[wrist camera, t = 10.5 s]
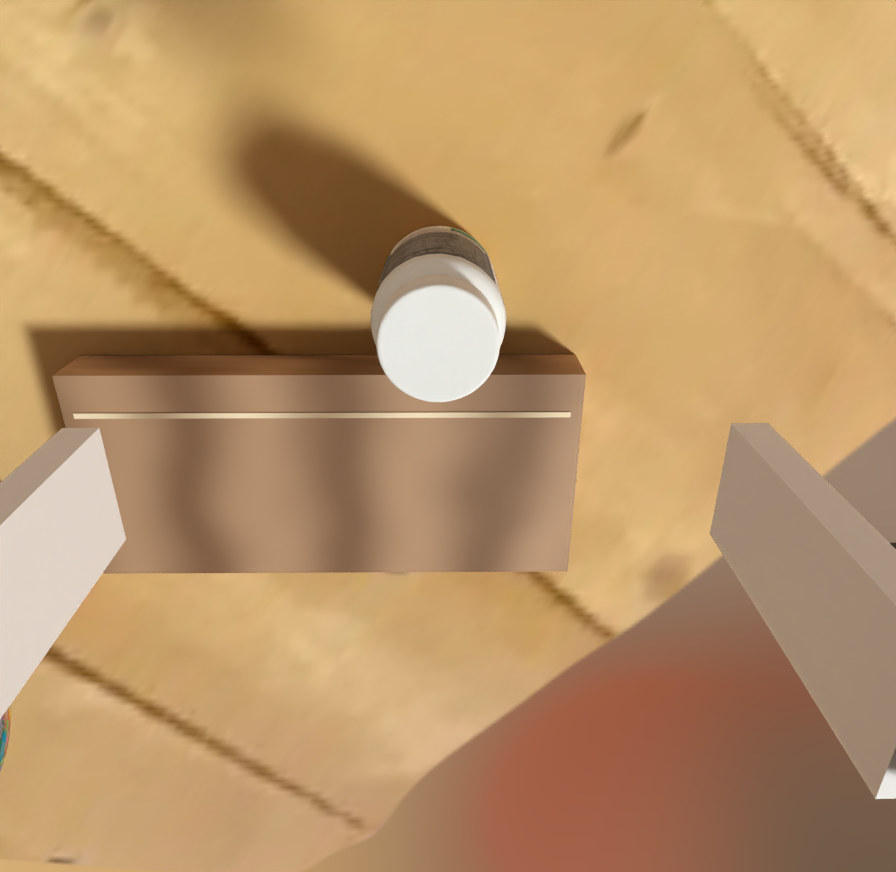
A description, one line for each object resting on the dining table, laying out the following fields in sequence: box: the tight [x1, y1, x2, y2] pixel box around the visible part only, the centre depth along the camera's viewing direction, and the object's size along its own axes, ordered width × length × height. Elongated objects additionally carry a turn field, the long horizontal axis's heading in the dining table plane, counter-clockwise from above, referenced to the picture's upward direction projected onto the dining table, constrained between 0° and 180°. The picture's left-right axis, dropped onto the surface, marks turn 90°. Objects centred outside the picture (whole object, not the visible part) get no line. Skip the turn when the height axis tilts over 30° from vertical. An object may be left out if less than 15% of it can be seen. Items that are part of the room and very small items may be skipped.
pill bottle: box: [371, 226, 506, 402], centre depth 26 cm, size 5×5×8 cm
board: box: [52, 354, 586, 574], centre depth 32 cm, size 22×10×3 cm, turn 90°
